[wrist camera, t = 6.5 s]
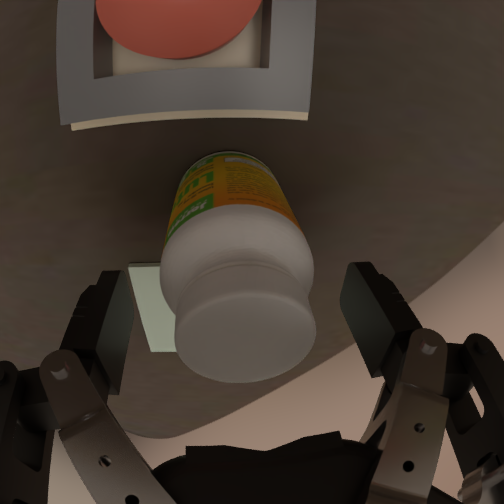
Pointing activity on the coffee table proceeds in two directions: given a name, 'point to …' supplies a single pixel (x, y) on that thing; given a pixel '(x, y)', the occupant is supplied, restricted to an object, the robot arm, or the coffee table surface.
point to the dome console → (185, 71)
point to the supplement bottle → (237, 272)
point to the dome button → (175, 25)
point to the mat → (153, 306)
